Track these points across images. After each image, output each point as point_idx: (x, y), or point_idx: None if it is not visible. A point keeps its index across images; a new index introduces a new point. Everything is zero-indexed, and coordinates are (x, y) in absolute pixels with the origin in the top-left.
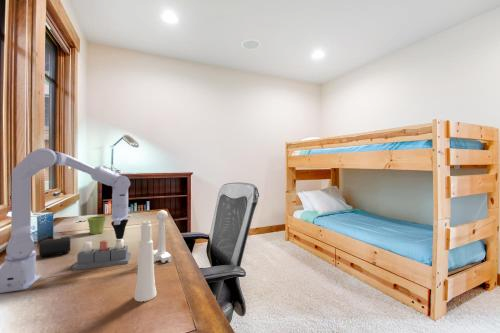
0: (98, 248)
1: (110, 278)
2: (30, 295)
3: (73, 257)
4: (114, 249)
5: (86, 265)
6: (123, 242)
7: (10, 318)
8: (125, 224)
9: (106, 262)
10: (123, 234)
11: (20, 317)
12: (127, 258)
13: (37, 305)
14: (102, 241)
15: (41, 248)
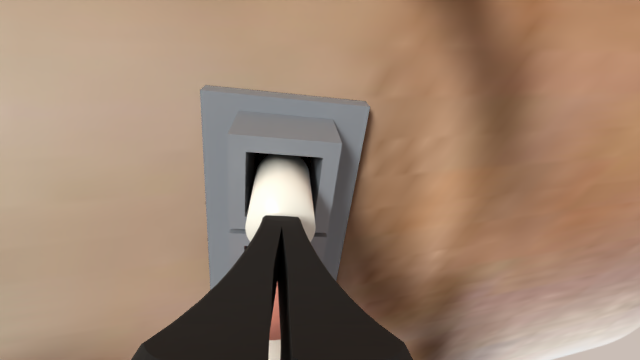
0: None
1: (516, 171)
2: (477, 350)
3: None
4: None
5: None
6: (287, 185)
7: (582, 345)
8: (399, 344)
9: (341, 214)
10: (304, 237)
11: (595, 332)
12: (329, 108)
13: (558, 322)
14: (271, 328)
15: None
